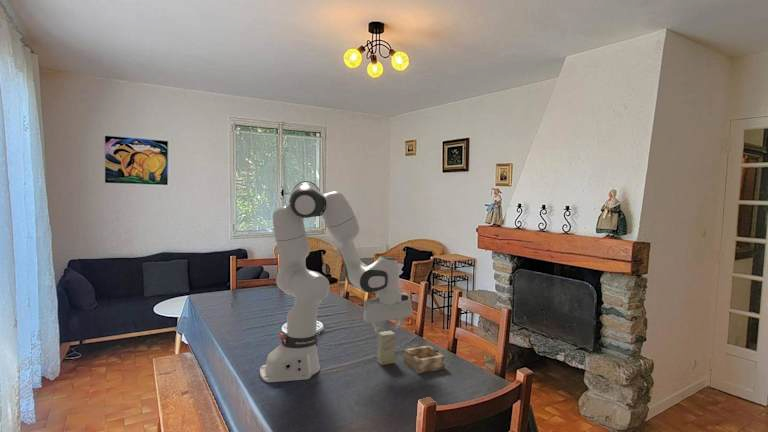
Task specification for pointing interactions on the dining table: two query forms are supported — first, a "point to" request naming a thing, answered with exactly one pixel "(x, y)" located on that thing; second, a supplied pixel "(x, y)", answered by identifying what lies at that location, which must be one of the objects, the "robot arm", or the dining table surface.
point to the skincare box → (386, 347)
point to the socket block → (424, 359)
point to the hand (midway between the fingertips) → (387, 330)
